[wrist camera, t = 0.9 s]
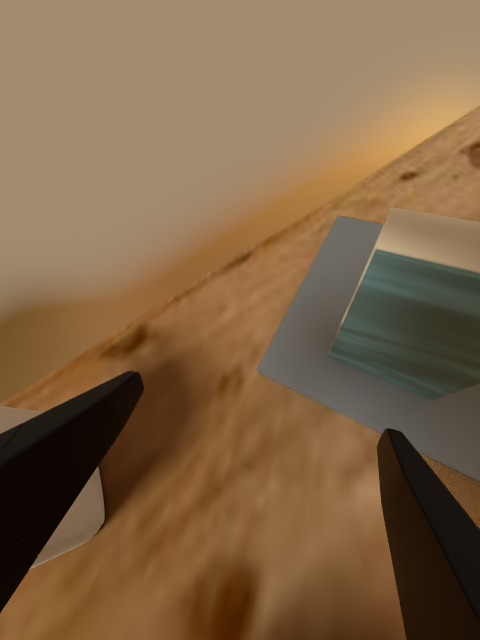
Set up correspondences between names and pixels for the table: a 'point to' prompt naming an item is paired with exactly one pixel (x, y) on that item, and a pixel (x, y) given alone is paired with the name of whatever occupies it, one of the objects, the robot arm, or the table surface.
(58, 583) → the table surface
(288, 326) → the rubber mat
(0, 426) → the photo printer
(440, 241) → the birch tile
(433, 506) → the robot arm
